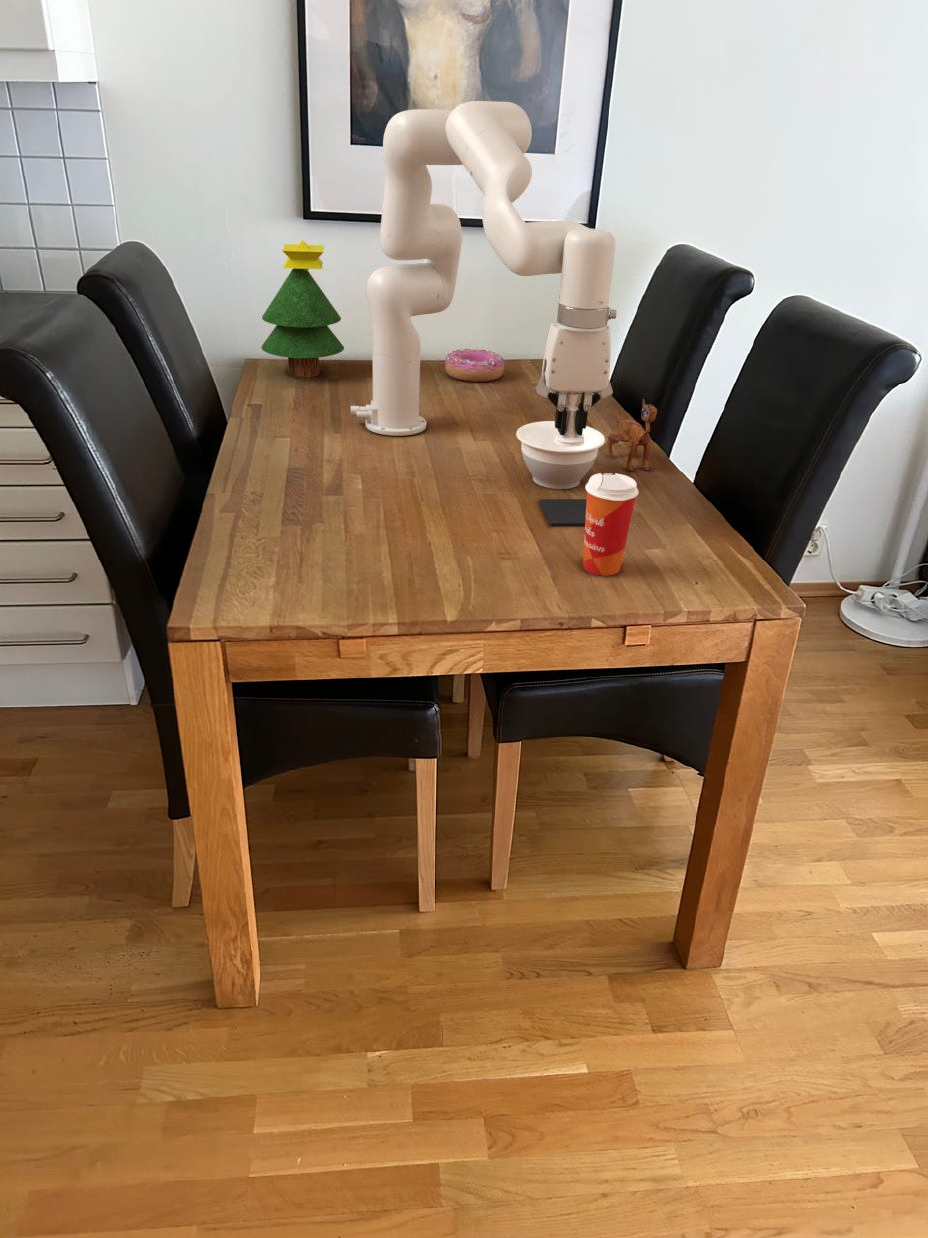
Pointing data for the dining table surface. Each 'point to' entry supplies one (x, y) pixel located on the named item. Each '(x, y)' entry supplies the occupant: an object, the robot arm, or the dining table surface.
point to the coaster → (565, 511)
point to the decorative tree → (302, 315)
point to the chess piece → (570, 424)
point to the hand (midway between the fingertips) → (569, 431)
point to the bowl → (557, 455)
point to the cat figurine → (635, 436)
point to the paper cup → (607, 521)
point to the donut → (474, 365)
